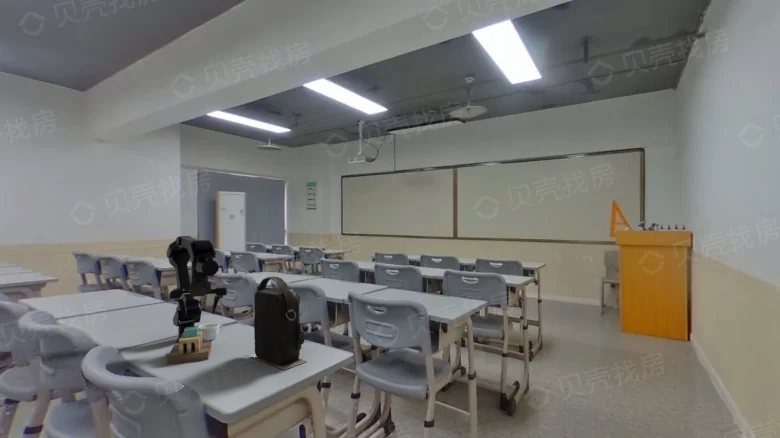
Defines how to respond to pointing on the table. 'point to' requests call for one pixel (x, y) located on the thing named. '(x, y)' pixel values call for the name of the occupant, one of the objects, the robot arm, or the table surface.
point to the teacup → (209, 331)
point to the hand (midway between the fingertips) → (199, 315)
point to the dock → (189, 354)
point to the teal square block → (191, 331)
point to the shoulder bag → (277, 325)
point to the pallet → (190, 343)
